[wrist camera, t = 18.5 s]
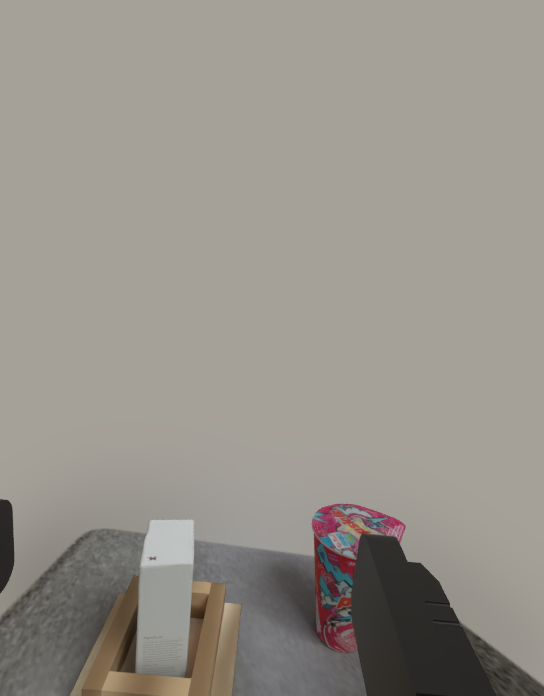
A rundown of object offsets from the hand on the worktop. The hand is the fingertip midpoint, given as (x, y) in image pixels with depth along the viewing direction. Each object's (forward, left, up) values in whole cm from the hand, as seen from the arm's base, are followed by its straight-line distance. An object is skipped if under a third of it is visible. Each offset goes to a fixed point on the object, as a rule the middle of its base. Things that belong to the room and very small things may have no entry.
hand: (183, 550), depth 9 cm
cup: (-19, -24, -30) cm, 43 cm away
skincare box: (-1, -23, -29) cm, 37 cm away
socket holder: (-1, -23, -30) cm, 38 cm away
